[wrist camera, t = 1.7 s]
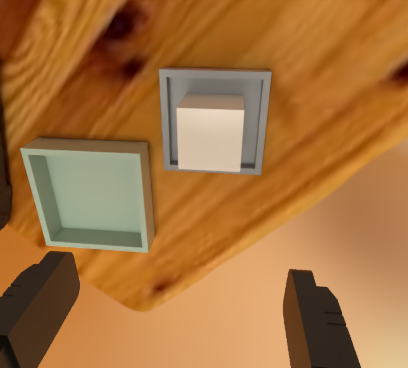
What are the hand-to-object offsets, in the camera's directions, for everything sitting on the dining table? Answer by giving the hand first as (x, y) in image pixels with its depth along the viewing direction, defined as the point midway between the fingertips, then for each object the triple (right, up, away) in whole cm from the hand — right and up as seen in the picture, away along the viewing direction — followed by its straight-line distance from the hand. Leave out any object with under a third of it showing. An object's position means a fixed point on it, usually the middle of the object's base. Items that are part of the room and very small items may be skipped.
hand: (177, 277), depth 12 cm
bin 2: (+2, +9, +18) cm, 20 cm away
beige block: (+2, +9, +17) cm, 20 cm away
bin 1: (-10, +3, +22) cm, 25 cm away
